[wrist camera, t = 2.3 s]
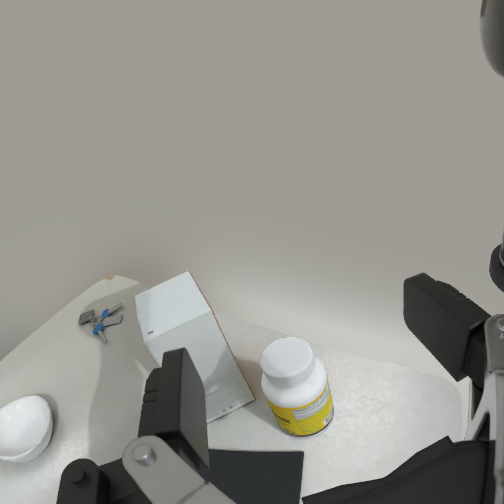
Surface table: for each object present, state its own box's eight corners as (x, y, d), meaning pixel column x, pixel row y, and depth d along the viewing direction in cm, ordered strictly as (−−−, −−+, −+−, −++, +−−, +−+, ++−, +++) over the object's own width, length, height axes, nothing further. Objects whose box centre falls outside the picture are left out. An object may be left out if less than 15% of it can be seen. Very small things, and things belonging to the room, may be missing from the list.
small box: (256, 399, 31) (213, 309, 24) (203, 426, 29) (141, 343, 23) (229, 354, 38) (188, 268, 31) (183, 377, 36) (132, 295, 30)
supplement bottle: (271, 407, 29) (243, 345, 25) (320, 386, 30) (305, 319, 25) (289, 449, 25) (262, 395, 20) (343, 425, 25) (335, 363, 21)
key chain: (75, 322, 53) (73, 318, 53) (104, 297, 59) (102, 294, 58) (106, 345, 45) (103, 341, 45) (140, 313, 50) (138, 310, 50)
